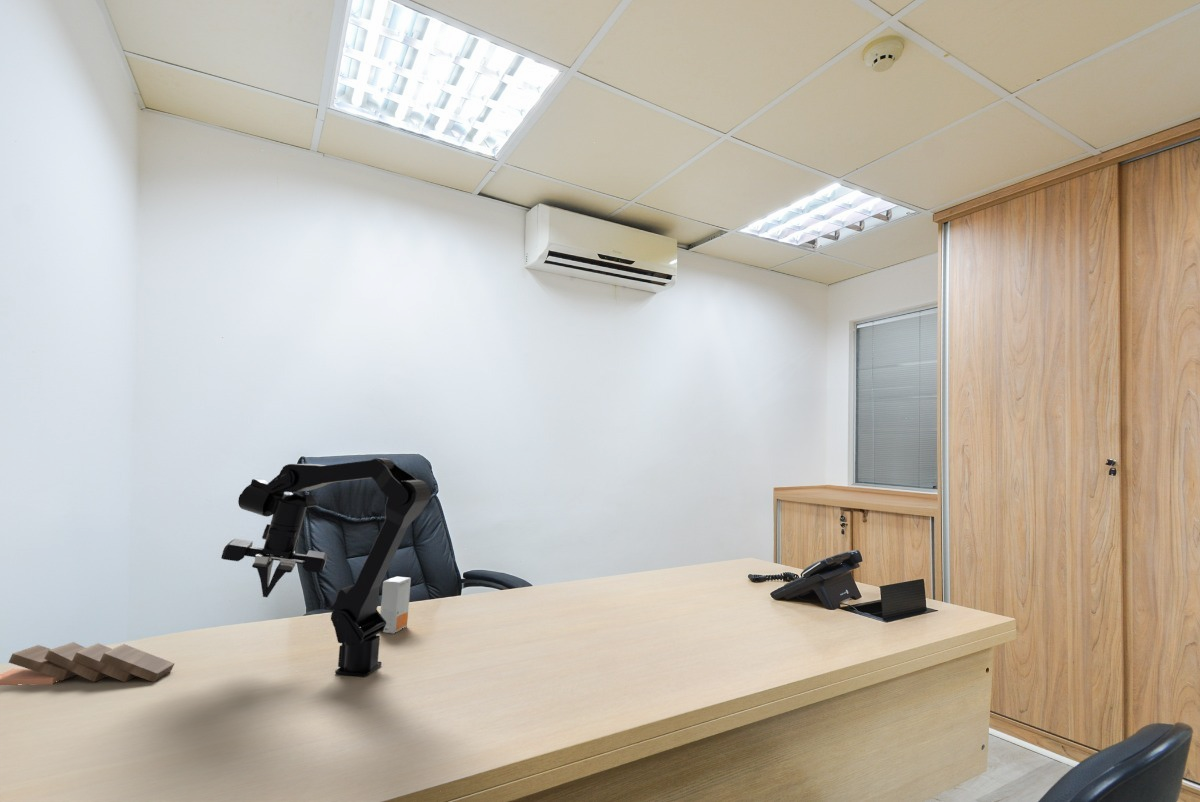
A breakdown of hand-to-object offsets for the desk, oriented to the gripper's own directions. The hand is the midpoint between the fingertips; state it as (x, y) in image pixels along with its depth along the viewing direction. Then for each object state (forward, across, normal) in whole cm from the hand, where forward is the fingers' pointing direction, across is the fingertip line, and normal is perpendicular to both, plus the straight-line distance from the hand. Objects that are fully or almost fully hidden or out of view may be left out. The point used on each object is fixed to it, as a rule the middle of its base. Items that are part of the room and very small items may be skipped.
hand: (265, 596), depth 117 cm
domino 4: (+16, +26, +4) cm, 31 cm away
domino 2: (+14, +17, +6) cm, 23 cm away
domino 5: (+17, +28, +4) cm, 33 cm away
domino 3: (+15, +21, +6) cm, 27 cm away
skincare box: (+9, -28, -12) cm, 32 cm away
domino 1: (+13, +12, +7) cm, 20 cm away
